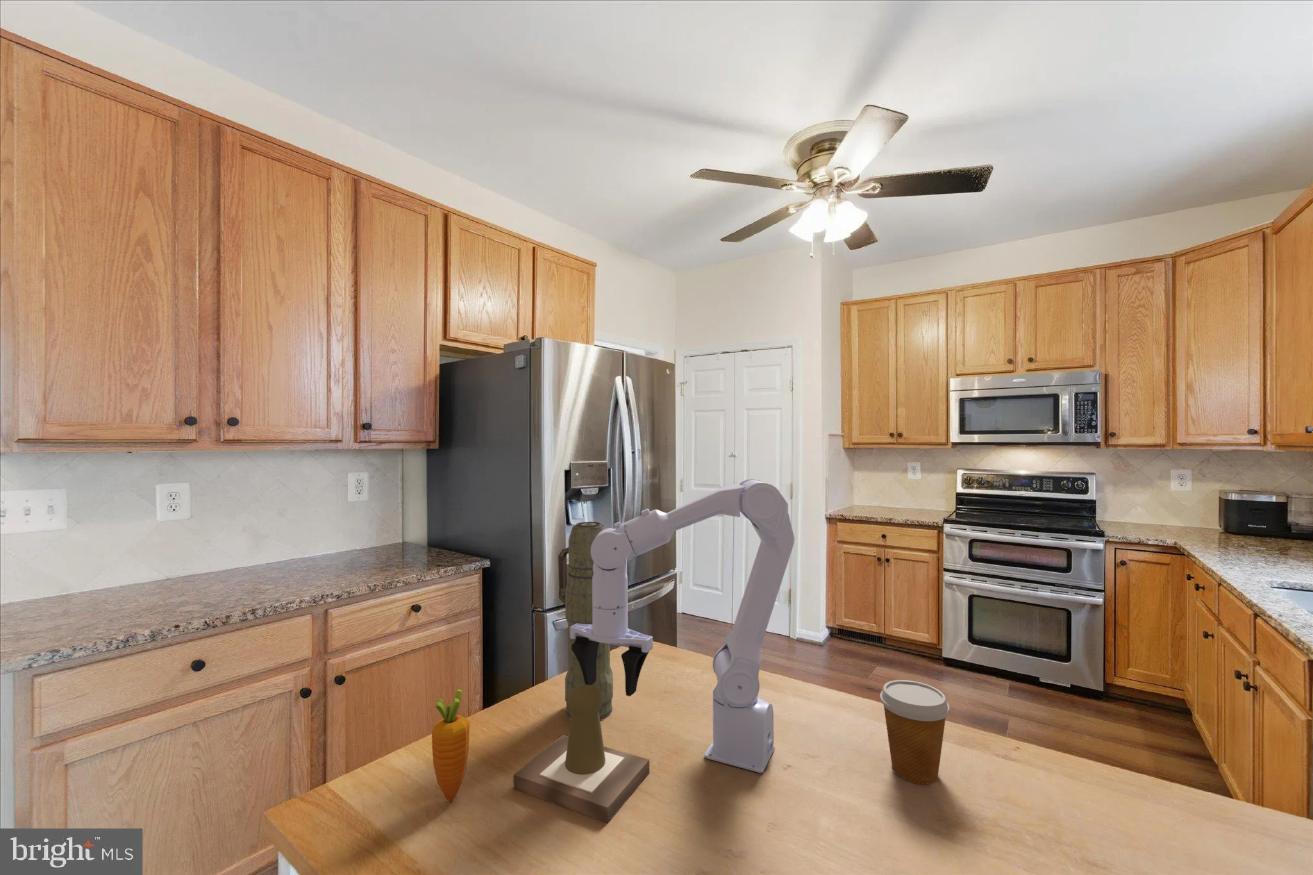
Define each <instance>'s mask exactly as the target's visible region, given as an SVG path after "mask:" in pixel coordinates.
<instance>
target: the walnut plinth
mask: <svg viewBox="0 0 1313 875" xmlns="http://www.w3.org/2000/svg"><path fill="white" fill-rule="evenodd" d="M568 737H569V735H566V734H562V735H561V736H560V737H558V738H557V739H556V740H555V741H554V742H552V743H551V744H549V745H548V747H546V748H545V749H544V750H542V751H541V752H540V753H539V754H537V755H536V756H535V757H533V758H532V759H530V761H529V762H527V763H526V764H525V765H524V766H523V767H522V768H520V769H519V770H517V771H516V772H515V773H514V774H513V789H514V790H515V791H520V792H522V793H524V794H528V795H530V796H533V797H536V798H539V799H540V800H544V801H547V802H550V803H551V804H555V805H558V806H560V807H563V808H565V809H568V810H571V811H575V812H577V813H580V814H582V815H585V816H587V817H590V818H594V819H596V820H599V821H601V822H605V823H607V824H608V823H609V822H610V821H611V820H612V818H614V817H615V815H616V814H617V812H618V811H619V810H620V809H621V808H622V807H623V806H624V804H625V803H626V802H627V800H628V799H629V798H630V797H631V796H632V794H634V792H635V791H636V790H637V788H639V786H640V785H641V784H642V783H643V781H644V780H645V779H646V778H647V777H648V776H649V774H650V758H649V759H648V758H645V757H641V756H638V755H636V754H635V755H634V754H632V753H628V752H625V751H621V750H617V749H614V748H610V747H608V746H604V753H605V765H604V766H603V767H602V768H601V769H600V770H599V771H597V772H594V773H591V774H585V775H580V774H574V773H572V772H569V771H568V770H567V769H566V767H565V761H566V753H567V745H568Z"/></svg>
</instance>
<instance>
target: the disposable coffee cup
mask: <svg viewBox="0 0 1313 875" xmlns="http://www.w3.org/2000/svg"><path fill="white" fill-rule="evenodd" d="M879 698H880V700H881V702H882V703H881V704H882V706H883V711H884V717H885V726H886V731H887V732H886V733H887V738H888V740H887V741H888V746H889V753H890V762H891V768H892V771H893V772H894V773H895V775H897V776H898V777H900V778H901V779H902V780H905V781H908V782H909V783H913V784H919V785H931V784H934V783H936V782H937V781H938V779H939V770H940V762H941V756H942V748H943V741H944V732H945V725H946V717H947V716H948V713H949V712H950V705H949V703H948V702H947V699H946V696H945V694H944V693H943V692H942V691H941V690H939V689H938V688H936V687H934V686H932V685H929V684H926V683H923V682H919V681H916V680H915V681H914V680H910V679H909V680H905V679H896V680H895V679H894V680H891V681H887V682H886V683H884V685H883V687H882V691H881V692H880V694H879Z"/></svg>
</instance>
